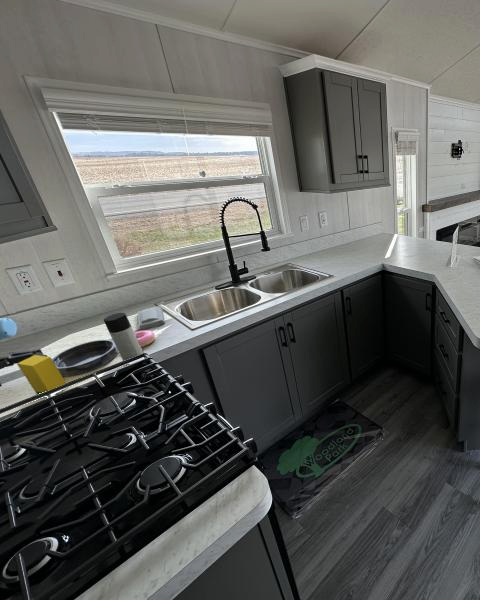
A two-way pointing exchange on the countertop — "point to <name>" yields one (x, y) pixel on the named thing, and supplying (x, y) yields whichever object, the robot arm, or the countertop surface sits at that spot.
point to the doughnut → (145, 337)
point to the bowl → (85, 357)
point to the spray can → (123, 335)
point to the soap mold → (150, 317)
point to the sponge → (41, 373)
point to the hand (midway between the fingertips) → (24, 370)
